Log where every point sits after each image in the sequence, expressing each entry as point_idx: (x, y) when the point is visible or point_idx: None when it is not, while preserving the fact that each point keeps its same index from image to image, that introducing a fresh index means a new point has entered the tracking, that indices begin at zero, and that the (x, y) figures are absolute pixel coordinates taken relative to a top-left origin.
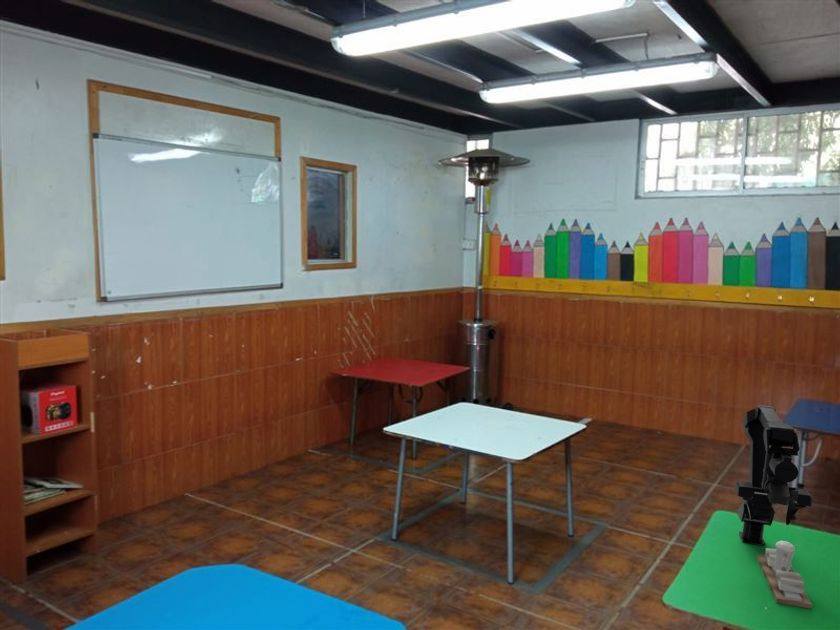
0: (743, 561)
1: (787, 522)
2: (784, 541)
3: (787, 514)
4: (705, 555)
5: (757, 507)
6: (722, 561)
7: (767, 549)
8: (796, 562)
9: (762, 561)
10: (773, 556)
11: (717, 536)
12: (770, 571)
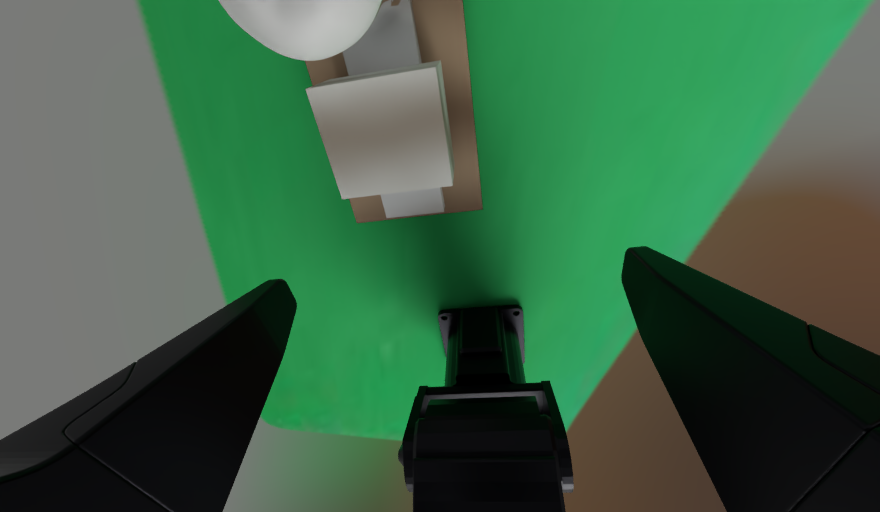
0: (550, 134)
1: (264, 294)
2: (293, 5)
3: (248, 390)
4: (752, 107)
5: (499, 465)
6: (672, 76)
7: (445, 167)
8: (328, 232)
9: (465, 139)
10: (413, 76)
11: (613, 314)
12: (432, 27)
